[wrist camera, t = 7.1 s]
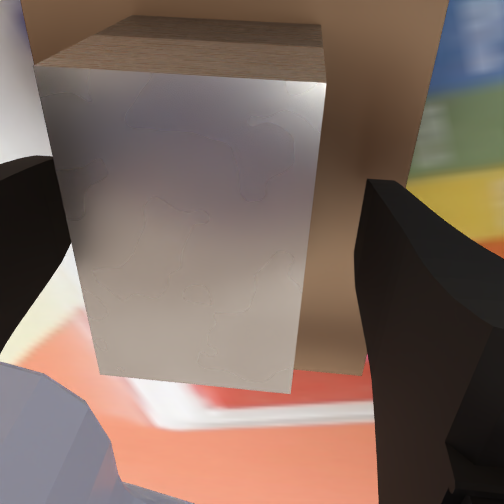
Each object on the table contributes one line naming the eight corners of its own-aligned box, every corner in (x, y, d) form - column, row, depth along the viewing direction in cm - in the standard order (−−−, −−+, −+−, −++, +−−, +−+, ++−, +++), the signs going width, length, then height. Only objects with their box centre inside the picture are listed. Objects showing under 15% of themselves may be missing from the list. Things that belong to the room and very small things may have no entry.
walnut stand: (357, 337, 19) (361, 376, 18) (114, 315, 20) (96, 350, 18) (472, -208, 10) (502, -232, 9) (19, -215, 11) (-32, -239, 9)
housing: (296, 266, 15) (290, 394, 11) (155, 254, 15) (100, 374, 11) (321, 24, 11) (326, 83, 7) (132, 15, 12) (32, 65, 7)
